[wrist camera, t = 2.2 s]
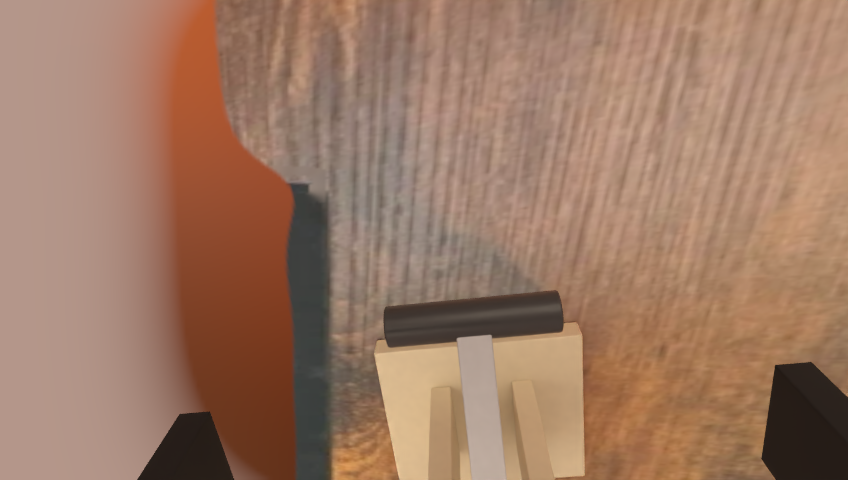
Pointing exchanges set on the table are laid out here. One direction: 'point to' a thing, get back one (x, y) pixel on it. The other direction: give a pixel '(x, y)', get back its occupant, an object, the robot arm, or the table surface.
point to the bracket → (518, 402)
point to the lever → (477, 355)
